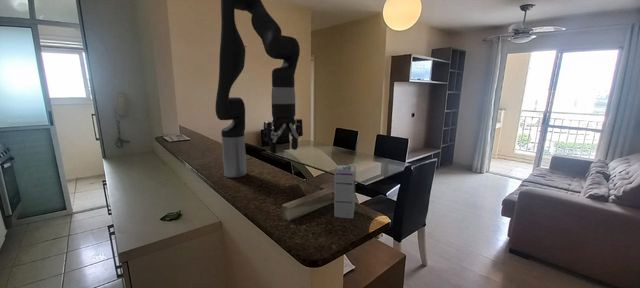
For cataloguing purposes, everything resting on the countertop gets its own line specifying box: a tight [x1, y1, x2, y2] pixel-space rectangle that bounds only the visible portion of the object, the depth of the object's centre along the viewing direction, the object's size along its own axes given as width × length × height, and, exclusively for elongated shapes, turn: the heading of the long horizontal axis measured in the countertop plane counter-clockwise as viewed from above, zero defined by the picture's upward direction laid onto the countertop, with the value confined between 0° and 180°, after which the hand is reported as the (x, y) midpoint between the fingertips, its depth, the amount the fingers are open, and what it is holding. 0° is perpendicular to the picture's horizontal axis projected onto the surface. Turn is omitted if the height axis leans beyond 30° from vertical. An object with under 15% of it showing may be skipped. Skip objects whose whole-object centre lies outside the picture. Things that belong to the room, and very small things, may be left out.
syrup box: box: [333, 164, 356, 220], centre depth 79 cm, size 6×6×14 cm
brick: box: [287, 183, 306, 202], centre depth 88 cm, size 11×4×5 cm, turn 18°
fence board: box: [281, 188, 333, 222], centre depth 82 cm, size 3×18×4 cm, turn 135°
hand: (284, 151), depth 88 cm, fingers open, 8 cm apart
